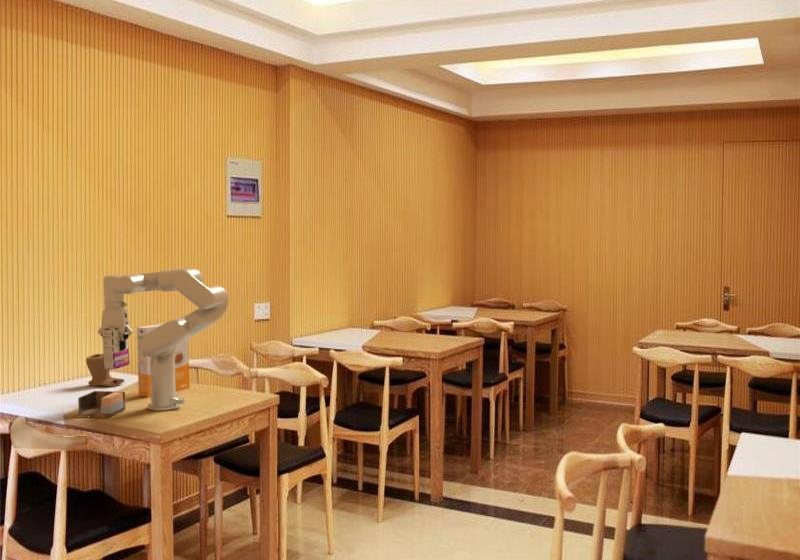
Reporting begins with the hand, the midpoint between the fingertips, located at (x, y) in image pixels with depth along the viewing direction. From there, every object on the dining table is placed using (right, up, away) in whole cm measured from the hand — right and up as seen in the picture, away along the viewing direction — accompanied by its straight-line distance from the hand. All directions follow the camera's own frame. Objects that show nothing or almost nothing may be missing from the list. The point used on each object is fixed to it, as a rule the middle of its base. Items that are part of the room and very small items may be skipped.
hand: (116, 349), depth 312 cm
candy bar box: (0, -7, +1) cm, 7 cm away
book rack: (-1, -24, -11) cm, 26 cm away
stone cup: (-21, -21, +42) cm, 51 cm away
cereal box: (+11, -21, +28) cm, 37 cm away
